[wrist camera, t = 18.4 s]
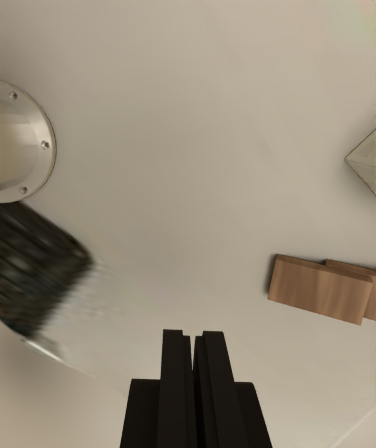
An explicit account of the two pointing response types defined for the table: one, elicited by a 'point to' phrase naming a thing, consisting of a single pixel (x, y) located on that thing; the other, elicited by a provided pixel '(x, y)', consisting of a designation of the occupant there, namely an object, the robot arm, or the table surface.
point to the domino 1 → (320, 289)
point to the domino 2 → (375, 302)
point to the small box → (365, 161)
